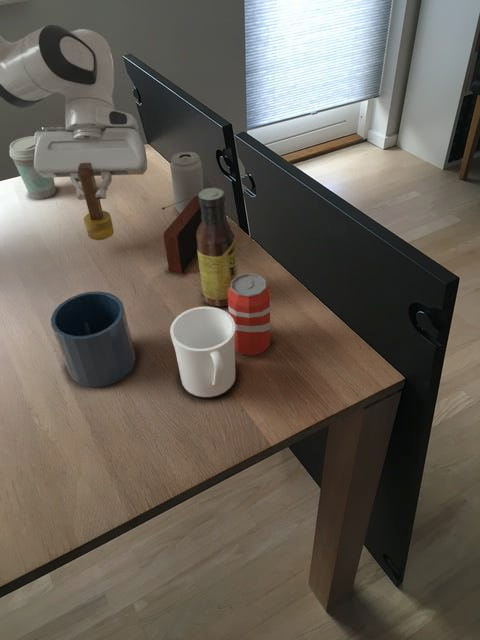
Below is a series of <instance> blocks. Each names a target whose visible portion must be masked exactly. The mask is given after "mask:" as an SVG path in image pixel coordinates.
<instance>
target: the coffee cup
mask: <svg viewBox="0 0 480 640" xmlns="http://www.w3.org/2000/svg"><path fill="white" fill-rule="evenodd" d="M34 154H35V143H34V135H29V136H24V137H20V138H17V139H15V140H13V141H12V142H11V143H10V144H9V157H10V158H11V159H12V161H13V162H14V165H15V167H16V169H17V171H18V173H19V176H20V177H21V179H22V182H23V184H24V186H25V188H26V190H27V192H28V194H29V197H30V198H32V199H35V200H44V199H48V198H50V197H52V196H54V195H55V194H56V191H57V190H56V183H55V177H50V178H44V177H42V176H41V175H40V174H38V173H37V172H36V170H35V169H34Z"/></svg>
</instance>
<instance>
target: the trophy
mask: <svg viewBox="0 0 480 640" xmlns="http://www.w3.org/2000/svg"><path fill="white" fill-rule="evenodd" d="M78 171H79V175H80V179H81V182H80V183H81V188H83V191H84V195H85V199H86V200H85V203H86V206H87V210H88V213H87V214H86V215H85V216H84V217H83V223H84V226H85V230H86V234H87V237H88V238H89V239H90V240H93V241H103V240H106V239H109V238H111V237H112V236H113V235H114V233H115V230H114V224H113V221H112V216H111V213H110V212H108V211H107V210H103V208H102V204H101V203H102V202H101V199H97V198H96V196H95V195H96V191H95V187H98V186H97V181H96V176H94V173H93V168H92V164H91V163H80V165H79V167H78Z"/></svg>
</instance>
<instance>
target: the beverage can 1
mask: <svg viewBox="0 0 480 640" xmlns="http://www.w3.org/2000/svg"><path fill="white" fill-rule="evenodd" d="M170 161H171V162H170V164H169V166H170V175H171V181H172V188H173V189H172V190H173V197H174V204H175V203H177V202H180V201H182V200H185V199H187V198H190V197H192V196H194V195H196V194H197V193H198V192H199V191H200V190H204V189H205V186H204V175H203V163H202V160H201V159H200V155H199V154H198V153H196V152H194V151H181V152H177V153H175V154H173V155H172V157H171V159H170ZM193 198H194V197H193ZM193 198H191V199H188V200H185V201H183V202H180V203H177V204H175V205H174V206H175V210H176V211H177V212H178V213H179V214H180V213H181V212H182V211H183V210H184V208H185V207H186V206H187V205H188V204H189V203H190V201H191V200H192V199H193Z"/></svg>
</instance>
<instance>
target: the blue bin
mask: <svg viewBox="0 0 480 640" xmlns="http://www.w3.org/2000/svg"><path fill="white" fill-rule="evenodd" d="M50 323H51V328H52V331H53V334H54V337H55V340H56V342H57V344H58V347H59V348H58V349H59V351H60V352H61V355H62V358H63V362H64V363H65V366H66V369H67V371H68V373H69V376H70V377H71V379H72V380H73V381H74V382H75V383H77V384H78V385H80V386H83V387H87V388H102V387H107V386H110V385H113V384H115V383H118V382H119V381H121V380H123V379H124V378H125V377H126V376H128V374H130V372H131V371H132V369H133V368H134V366H135V363H136V351H135V347H134V343H133V340H132V336H131V331H130V326H129V323H128V319H127V315H126V310H125V307H124V303H123V301H122V300H121V299H120V298H119V297H118V296H116V295H114V294H112V293H110V292H105V291H87V292H81V293H78V294H76V295H74V296H70V297H69V298H67V299H65V300H64V301H63V302H61V303H60V304H59V305H58V306H57V307H56V308H55V309H54V310H53V312H52V314H51V318H50Z"/></svg>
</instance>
